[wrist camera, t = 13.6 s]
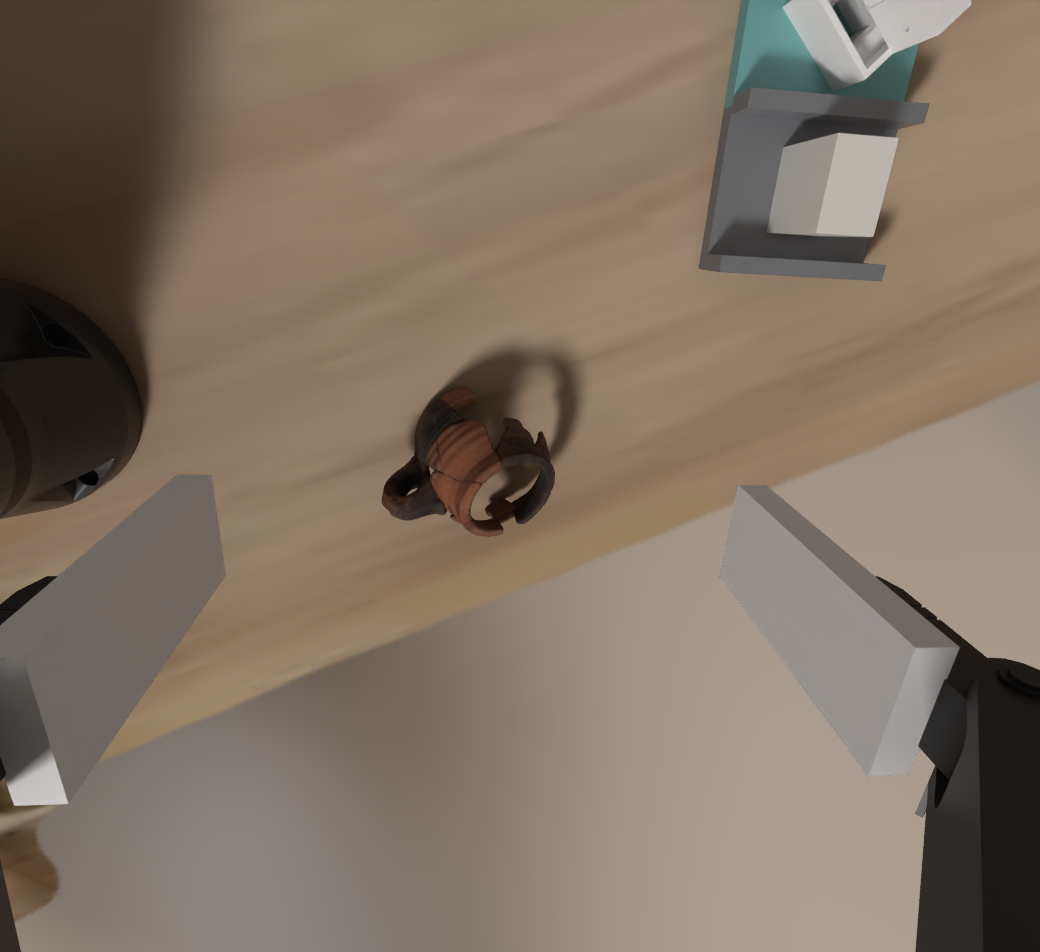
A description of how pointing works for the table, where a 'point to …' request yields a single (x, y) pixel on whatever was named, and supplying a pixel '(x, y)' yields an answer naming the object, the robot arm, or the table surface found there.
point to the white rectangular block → (832, 186)
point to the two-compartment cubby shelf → (783, 122)
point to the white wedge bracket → (866, 32)
